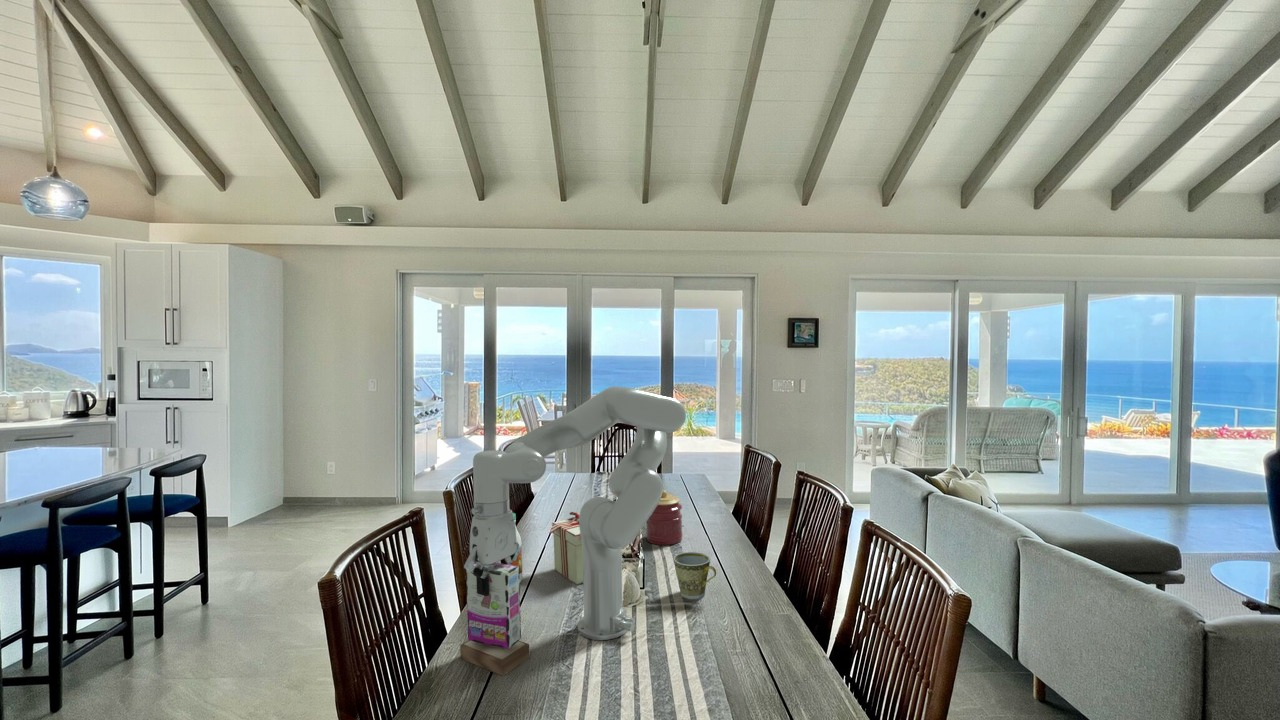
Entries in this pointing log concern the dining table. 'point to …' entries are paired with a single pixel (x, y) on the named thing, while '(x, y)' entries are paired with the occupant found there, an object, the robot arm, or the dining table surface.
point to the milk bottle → (517, 553)
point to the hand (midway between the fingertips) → (493, 588)
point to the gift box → (568, 548)
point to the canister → (665, 521)
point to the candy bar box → (495, 607)
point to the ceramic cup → (692, 573)
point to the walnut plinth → (495, 656)
